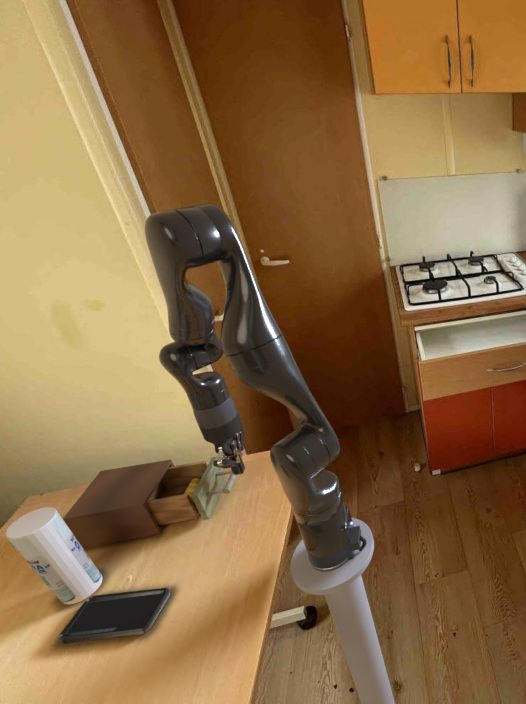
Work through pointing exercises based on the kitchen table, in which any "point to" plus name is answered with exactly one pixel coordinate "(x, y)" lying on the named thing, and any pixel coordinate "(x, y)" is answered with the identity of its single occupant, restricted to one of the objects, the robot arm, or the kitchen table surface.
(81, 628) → the phone
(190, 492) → the yellow cheese puff
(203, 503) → the drawer
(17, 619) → the kitchen table surface
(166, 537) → the kitchen table surface
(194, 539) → the kitchen table surface
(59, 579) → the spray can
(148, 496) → the cabinet
